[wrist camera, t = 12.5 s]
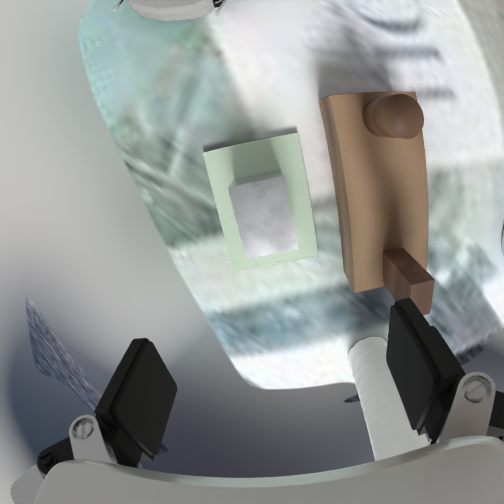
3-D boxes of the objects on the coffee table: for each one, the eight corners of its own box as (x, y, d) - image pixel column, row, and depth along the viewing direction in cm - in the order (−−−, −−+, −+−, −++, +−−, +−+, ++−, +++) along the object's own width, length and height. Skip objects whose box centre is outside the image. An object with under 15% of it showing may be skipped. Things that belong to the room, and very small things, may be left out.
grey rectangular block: (280, 169, 28) (283, 175, 24) (293, 231, 31) (298, 249, 26) (233, 179, 29) (227, 187, 24) (249, 240, 32) (246, 259, 27)
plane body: (394, 96, 24) (456, 84, 13) (408, 258, 32) (455, 310, 21) (318, 101, 26) (352, 82, 15) (343, 271, 33) (374, 334, 22)
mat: (297, 132, 27) (297, 132, 27) (317, 254, 32) (318, 256, 32) (203, 152, 28) (202, 152, 28) (234, 269, 34) (234, 271, 33)
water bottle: (368, 369, 40) (407, 505, 17) (339, 359, 39) (371, 512, 16) (403, 332, 37) (468, 471, 14) (375, 318, 36) (441, 478, 13)
